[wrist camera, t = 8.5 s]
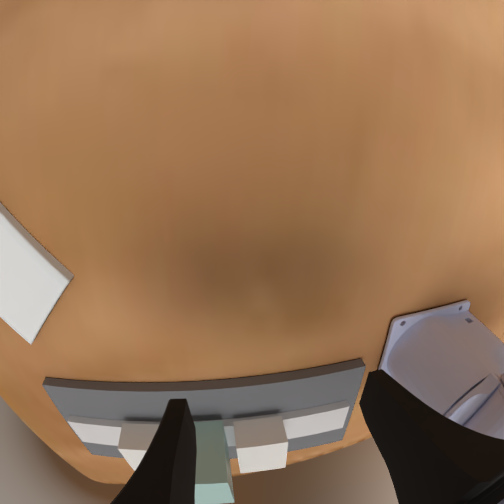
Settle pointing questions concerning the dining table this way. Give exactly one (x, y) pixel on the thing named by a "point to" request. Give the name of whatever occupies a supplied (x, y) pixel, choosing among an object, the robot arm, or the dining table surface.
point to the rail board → (216, 412)
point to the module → (212, 464)
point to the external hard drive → (27, 278)
